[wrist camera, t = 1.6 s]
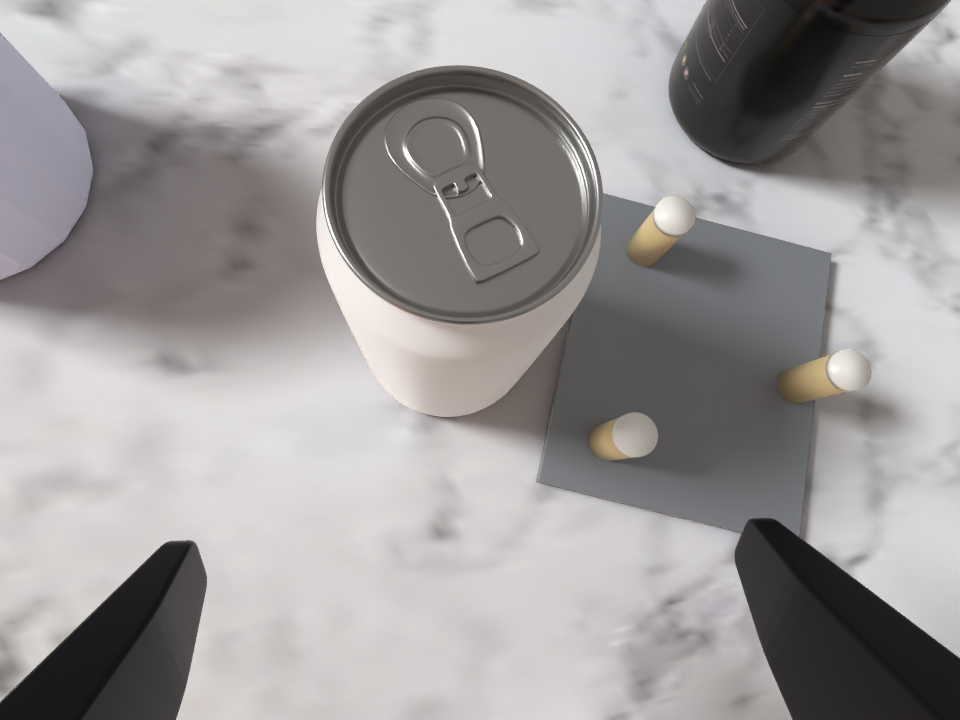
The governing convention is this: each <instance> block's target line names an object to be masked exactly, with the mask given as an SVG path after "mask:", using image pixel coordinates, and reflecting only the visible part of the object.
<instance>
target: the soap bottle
mask: <svg viewBox="0 0 960 720" xmlns="http://www.w3.org/2000/svg"><path fill="white" fill-rule="evenodd" d="M93 171H94V170H93V165H92V160H91V155H90V150H89V146H88V141H87V136H86V131H85V130H84V128H83V127H82V125H81V124H80V122H79V121H78V120H77V118H76V117H75V115H74V114H73V113H72V111H71V110H70V108H69V107H68V105H67V104H66V103H65V101H64V100H63V99H62V98H61V97H60V96H59V95H58V94H57V93H56V92H55V91H54V89H53V88H52V87H51V86H50V85H49V84H48V83H47V82H46V81H45V80H44V79H43V78H42V77H41V76H40V75H39V73H38V72H37V71H36V70H35V69H34V68H33V67H32V66H31V65H30V64H29V63H28V62H27V61H26V60H25V59H24V57H23V56H22V55H21V54H20V53H19V52H18V51H17V50H16V49H15V48H14V47H13V46H12V45H11V44H10V42H9V41H8V40H7V39H6V38H5V37H4V36H3V35H2V34H1V33H0V280H2V279H4V278H7V277H9V276H12V275H14V274H17V273H19V272H22V271H24V270H27V269H29V268H31V267H33V266H34V265H35V264H36V263H38V262H39V261H40V260H41V259H42V258H44V257H45V256H46V255H47V254H49V253H50V252H51V251H52V250H54V249H55V248H56V247H57V246H59V245H60V244H61V243H62V242H63V241H65V239H66V238H67V236H68V234H69V233H70V231H71V230H72V228H73V227H74V225H75V223H76V222H77V220H78V219H79V217H80V216H81V214H82V212H83V211H84V209H85V208H86V205H87V200H88V195H89V190H90V185H91V181H92V176H93Z"/></svg>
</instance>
